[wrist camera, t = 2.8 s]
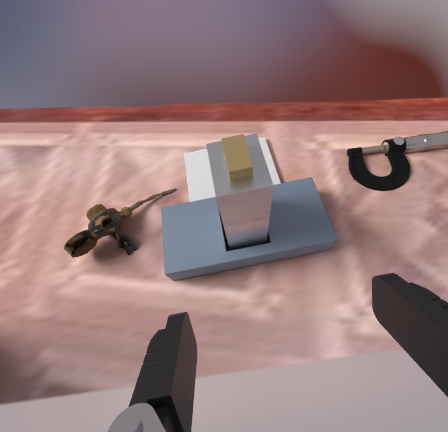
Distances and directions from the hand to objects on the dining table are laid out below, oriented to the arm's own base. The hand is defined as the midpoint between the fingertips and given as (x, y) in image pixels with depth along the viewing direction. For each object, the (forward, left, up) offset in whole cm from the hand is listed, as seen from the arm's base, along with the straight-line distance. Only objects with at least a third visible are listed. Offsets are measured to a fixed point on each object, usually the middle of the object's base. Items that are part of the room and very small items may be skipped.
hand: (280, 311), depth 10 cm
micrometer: (+23, +15, -16) cm, 32 cm away
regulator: (-15, +15, -16) cm, 26 cm away
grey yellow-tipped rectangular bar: (0, +10, -16) cm, 19 cm away
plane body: (0, +10, -16) cm, 19 cm away
